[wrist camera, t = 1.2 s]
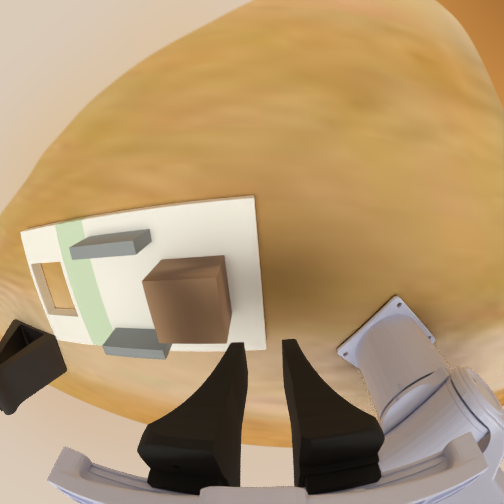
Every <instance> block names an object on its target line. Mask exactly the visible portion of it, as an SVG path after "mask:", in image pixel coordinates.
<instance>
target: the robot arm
mask: <svg viewBox="0 0 504 504" xmlns="http://www.w3.org/2000/svg"><path fill="white" fill-rule="evenodd" d="M398 303H400V304H399V305H397V304H398ZM435 341H436V339H435V337H434V336H433V335H432V334H431V333H430V331H429V330H428V329H427V328H426V327H425V326H424V324H423V323H422V322H421V321H420V320H419V319H418V317H417V316H416V315H415V314H414V313H413V312H412V311H411V309H410V308H409V307H408V306H407V305H406V304H405V303H404V302H403V300H402V299H401V298H400V297H399V296H394V297H393V298H392V299H391V300H390V301H389V302H388V303H387V304H386V305H385V306H384V307H383V308H382V309H381V310H380V311H379V312H378V313H376V314H375V315H374V316H373V317H372V318H371V319H370V320H369V321H368V322H367V323H366V324H365V325H364V326H363V327H361V328H360V329H359V330H358V331H357V332H356V333H355V334H354V335H353V336H351V337H350V338H349V339H348V340H347V341H346V342H345V343H343V344H342V345H341V346H340V347H339V348H338V349H337V353H338V355H339V356H341V357H342V358H344V359H345V360H347V361H348V362H349V363H351V364H352V365H354V366H355V367H357V368H358V369H360V370H361V373H362V375H363V378H364V380H365V383H366V385H367V388H368V391H369V393H370V396H371V398H372V401H373V404H374V407H375V409H376V412H377V415H378V417H379V420H380V422H379V423H378V421H377V420H376V418H375V417H374V416H372V415H370V414H368V413H366V412H364V411H362V410H360V409H358V408H357V407H355V406H354V405H352V404H350V403H349V402H348V401H346V400H345V399H344V398H342V397H341V396H340V395H339V394H337V393H336V392H335V391H334V390H333V389H332V388H331V387H330V386H329V385H328V384H327V383H326V382H325V381H324V380H323V379H322V378H321V377H320V376H319V375H318V373H317V372H316V371H315V370H314V368H313V367H312V366H311V364H310V363H309V362H308V360H307V359H306V357H305V356H304V354H303V352H302V351H301V349H300V347H299V345H298V343H297V340H295V339H287V340H282V355H283V378H284V389H285V394H286V400H287V405H288V411H289V416H290V422H291V430H292V445H293V463H294V485H295V486H287V487H286V486H278V487H240V457H241V456H240V455H241V430H242V421H243V415H244V408H245V402H246V395H247V388H248V369H247V361H246V354H245V347H244V342H232V343H230V345H229V347H228V349H227V350H226V352H225V354H224V356H223V357H222V359H221V360H220V362H219V363H218V365H217V366H216V368H215V369H214V371H213V372H212V373H211V375H210V376H209V377H208V378H207V380H206V381H205V382H204V383H203V384H202V386H201V387H200V388H199V389H198V390H197V391H196V392H195V393H194V394H193V395H192V396H190V397H189V398H188V399H187V400H186V401H185V402H184V403H182V404H181V405H180V406H178V407H177V408H176V409H174V410H173V411H171V412H170V413H168V414H167V415H165V416H164V417H162V418H160V419H158V420H156V421H154V422H152V423H150V424H148V425H147V427H146V429H145V431H144V433H143V435H142V437H141V440H140V443H139V446H138V449H137V452H138V453H139V455H140V457H141V458H142V459H143V460H144V462H145V463H146V464H147V465H148V466H149V467H150V468H151V469H150V472H149V476H148V478H143V477H139V476H135V475H131V474H127V473H124V472H120V471H116V470H113V469H110V468H107V467H104V466H101V465H98V464H95V463H92V462H91V461H90V459H89V458H88V457H86V456H85V455H84V454H82V453H80V452H78V451H75V450H73V449H70V448H68V447H64V448H63V450H62V452H61V454H60V455H59V457H58V459H57V461H56V463H55V465H54V467H53V469H52V471H51V473H50V475H49V477H48V479H47V480H48V482H49V483H51V484H52V485H53V486H54V487H56V488H57V489H58V490H60V491H61V492H63V493H64V494H65V495H67V496H68V497H70V498H71V499H72V500H74V501H75V502H78V503H80V504H504V472H503V471H502V470H501V468H500V467H499V466H500V464H501V462H502V460H503V458H504V409H503V408H502V406H501V404H500V402H499V400H498V399H497V397H496V396H495V394H494V393H493V391H492V390H491V389H490V388H489V386H488V385H487V384H486V383H485V382H484V381H483V379H482V378H481V377H480V376H479V375H478V374H476V373H475V372H474V371H473V370H472V369H470V368H469V367H456V368H455V369H454V370H452V369H451V368H450V366H449V365H448V363H447V362H446V361H445V359H444V358H443V357H442V355H441V354H440V352H439V351H438V350H437V348H436V347H435V346H434V343H435ZM345 352H347V353H345ZM344 353H345V354H344Z"/></svg>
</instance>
